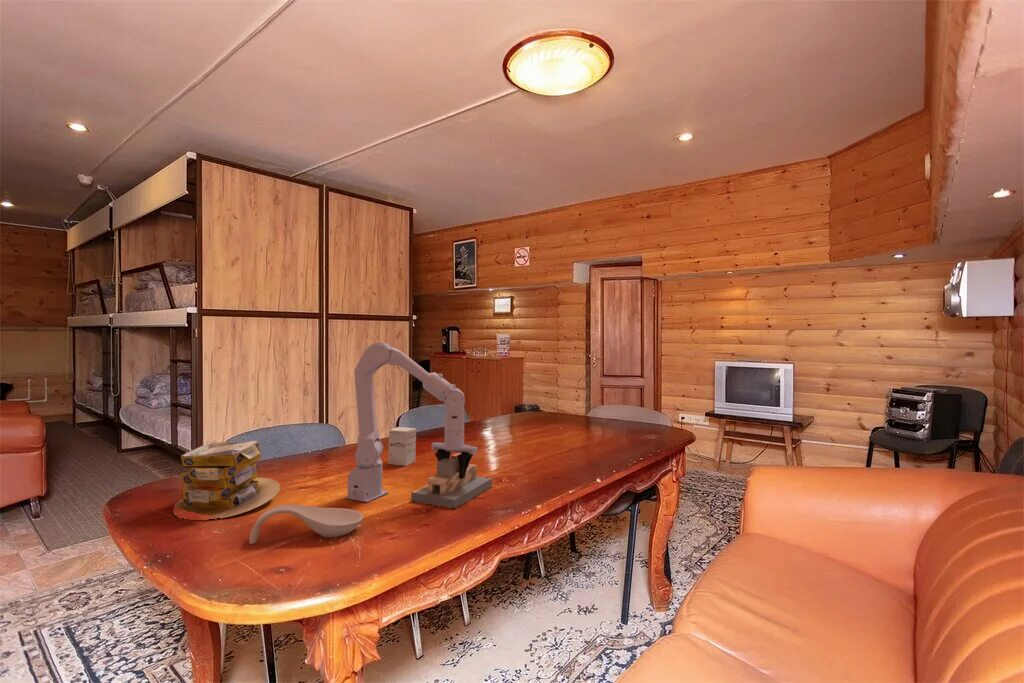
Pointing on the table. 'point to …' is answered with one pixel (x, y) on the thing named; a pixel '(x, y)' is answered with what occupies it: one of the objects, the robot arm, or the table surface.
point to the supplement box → (402, 446)
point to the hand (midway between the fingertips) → (453, 476)
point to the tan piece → (451, 481)
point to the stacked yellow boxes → (224, 480)
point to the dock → (452, 493)
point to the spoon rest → (315, 519)
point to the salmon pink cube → (457, 460)
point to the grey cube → (446, 467)
